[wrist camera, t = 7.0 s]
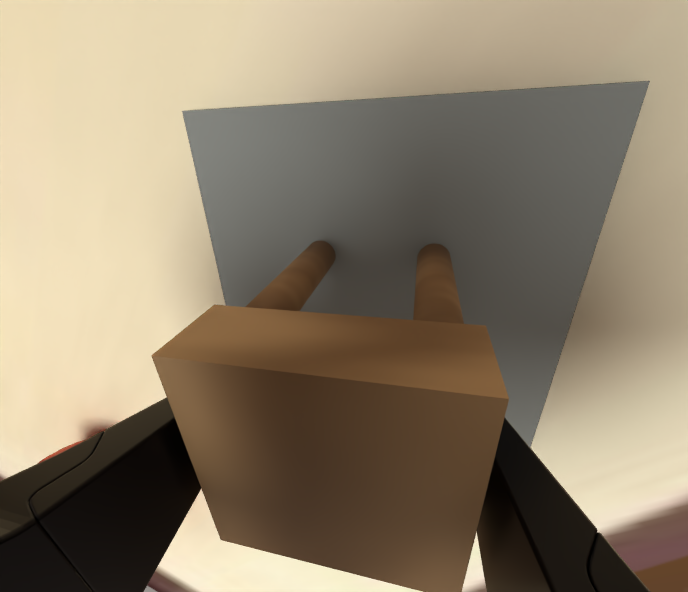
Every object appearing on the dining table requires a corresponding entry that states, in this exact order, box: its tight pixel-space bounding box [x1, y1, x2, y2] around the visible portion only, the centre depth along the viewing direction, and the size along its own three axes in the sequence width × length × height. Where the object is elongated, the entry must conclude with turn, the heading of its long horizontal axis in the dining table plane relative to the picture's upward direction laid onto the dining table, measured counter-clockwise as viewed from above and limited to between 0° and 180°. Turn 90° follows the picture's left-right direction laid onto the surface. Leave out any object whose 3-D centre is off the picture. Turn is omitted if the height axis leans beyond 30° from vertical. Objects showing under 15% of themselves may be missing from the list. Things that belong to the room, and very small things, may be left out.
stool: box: [152, 241, 509, 592], centre depth 10 cm, size 6×6×8 cm
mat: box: [182, 81, 650, 447], centre depth 14 cm, size 15×15×1 cm
